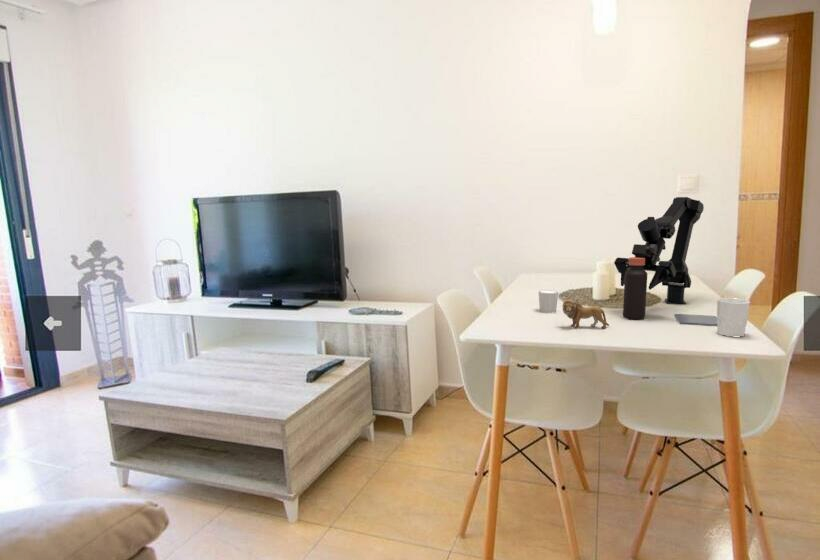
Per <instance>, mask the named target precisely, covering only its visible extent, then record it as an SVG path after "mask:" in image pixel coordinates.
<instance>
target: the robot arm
mask: <svg viewBox="0 0 820 560" xmlns="http://www.w3.org/2000/svg"><path fill="white" fill-rule="evenodd" d="M704 207H705V206H704V203H702V202H701V200H697V199H693V198H691V197H688V196H676V197H674V198H673V200H672V203H671V204H670V205H669V206H668V208H667V210H666V211H665V213H664V214H663V215H662V216H661V217H658V218H655V217H654V216H647V218H646V219H643V220H641V221H640V222H639V223H637V228H638V229H637V230H638V232H639V234H640V236H641V239H642V241H644V242H645V244H633V247H632V251H631V254H632V255H634V257H641V258H645V265H644V270H645V271H646V272H648V271H649V272H654V275H653V276H652V278H651V280H650V282H649V286H648V290H652V289H654V288H655V287H656V286H658V285H659V284H662V286H665V287H666V288H667V289H666V290H667V292H666V298H664V302H665V303H666V304H677V305H678V304H679V305H680V304H681V305H686V304H687V301H686V300H685V289H688V288H691V285H692V279H691V277H690V274H689V267H688V265H687V262H686V259H687V255H688V251H689V246H690V241H691V236H692V233H693V230H694V229H693V228H694V225H695V224H696V223H697V222H698V221H699V220H700V219H701V215H702V213H703V211H704ZM678 221H679V224H678V227H677V231H676V227H675V226H676V223H678ZM675 233H676V236H675V242H674V244H673V250H672V253H671V254H672V255H671V258H670V259H669V260H661V253H662V252H663V250H664V251H665V250H666V241H665V239H666V240H668V239H671V238H672V237H673V236H674V235H675ZM657 262H658V264H657ZM613 264H614V266H615V267H616V270H617V272H618V273H620V286H621V287H623V286H624V283H625V272H626V271H627V270H629V258H627V257H616V258H615V260H614V263H613Z"/></svg>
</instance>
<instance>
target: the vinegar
mask: <svg viewBox="0 0 820 560" xmlns="http://www.w3.org/2000/svg"><path fill="white" fill-rule="evenodd" d="M628 259H629V270H627V271H626V272H625V283H624V285H623V286H624V287H623V303H622V304H623V306H622V317H623V318H624V319H627V320H633V321H635V320H636V321H639V320H644V319H646V309H647V308H646V306H647V304H646V303H647V289H648V288H647V287H648V273H647V272H648V271H645V270H644V265H645V258H641V257H635V256H632V257H629V258H628Z"/></svg>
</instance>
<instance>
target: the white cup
mask: <svg viewBox="0 0 820 560" xmlns="http://www.w3.org/2000/svg"><path fill="white" fill-rule="evenodd" d="M716 302H717V303H716V317H717V324H718V325H717V326H716V328H717V329H716V333H717V334H718V335H720V334H721V336H723V335H726V336H725V337H728V336H743V337H745V335H744V334H746V328H747V323H748V319H749V312H750V304H751V301H749V300H748V299H747V300H746V299H743V298H734V297H721V298H717V301H716Z"/></svg>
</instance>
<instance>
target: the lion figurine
mask: <svg viewBox="0 0 820 560" xmlns="http://www.w3.org/2000/svg"><path fill="white" fill-rule="evenodd" d="M562 312H563V315H566V317H567V318H568V319H571V320H572V324H570V327H574V329H575V330H578V329H579V328H580V321H581V319H582V320H585V319H586V320H587V319H589V318H591V317H592V318H593V323H592V324H590V327H595V326H597V324H598V323H599V322H600V323H601V324H602V326H601V327H600V328H601V329H603V330H604V329H605V330H606V328H607V326H610V324H609V323H608V322H607V318H606V313H605V312H604V309H602V308H601V307H600V306H597V305H595V306H588V307H587V306H583V305H581V303H579V302H577V301H575V300H573V299H566V300H564V301H563V303H562Z"/></svg>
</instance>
